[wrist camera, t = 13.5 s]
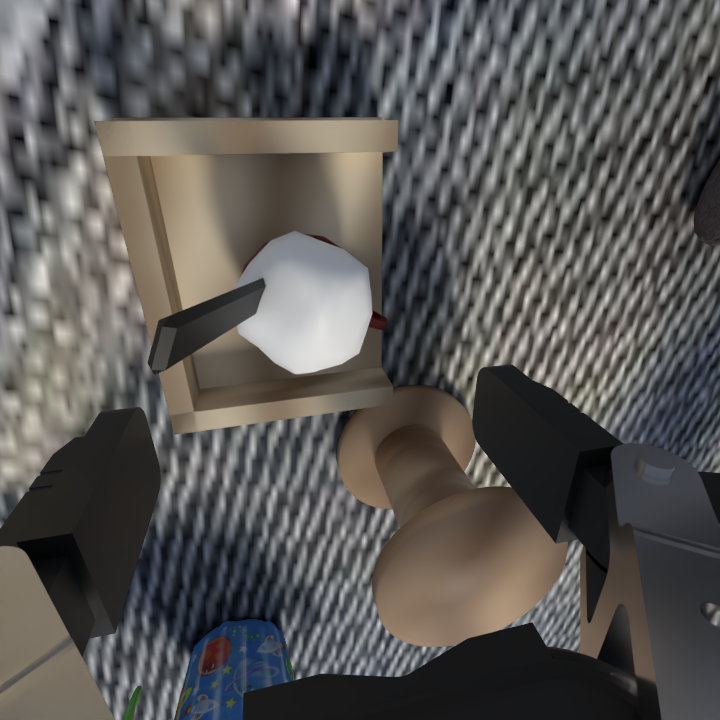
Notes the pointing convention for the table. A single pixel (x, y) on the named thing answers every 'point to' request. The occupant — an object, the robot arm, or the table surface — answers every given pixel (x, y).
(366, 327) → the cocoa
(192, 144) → the shallow rimmed tray
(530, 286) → the table surface
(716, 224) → the perforated stone tool
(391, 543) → the tan spool shaped stand
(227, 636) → the snack cup
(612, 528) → the robot arm
